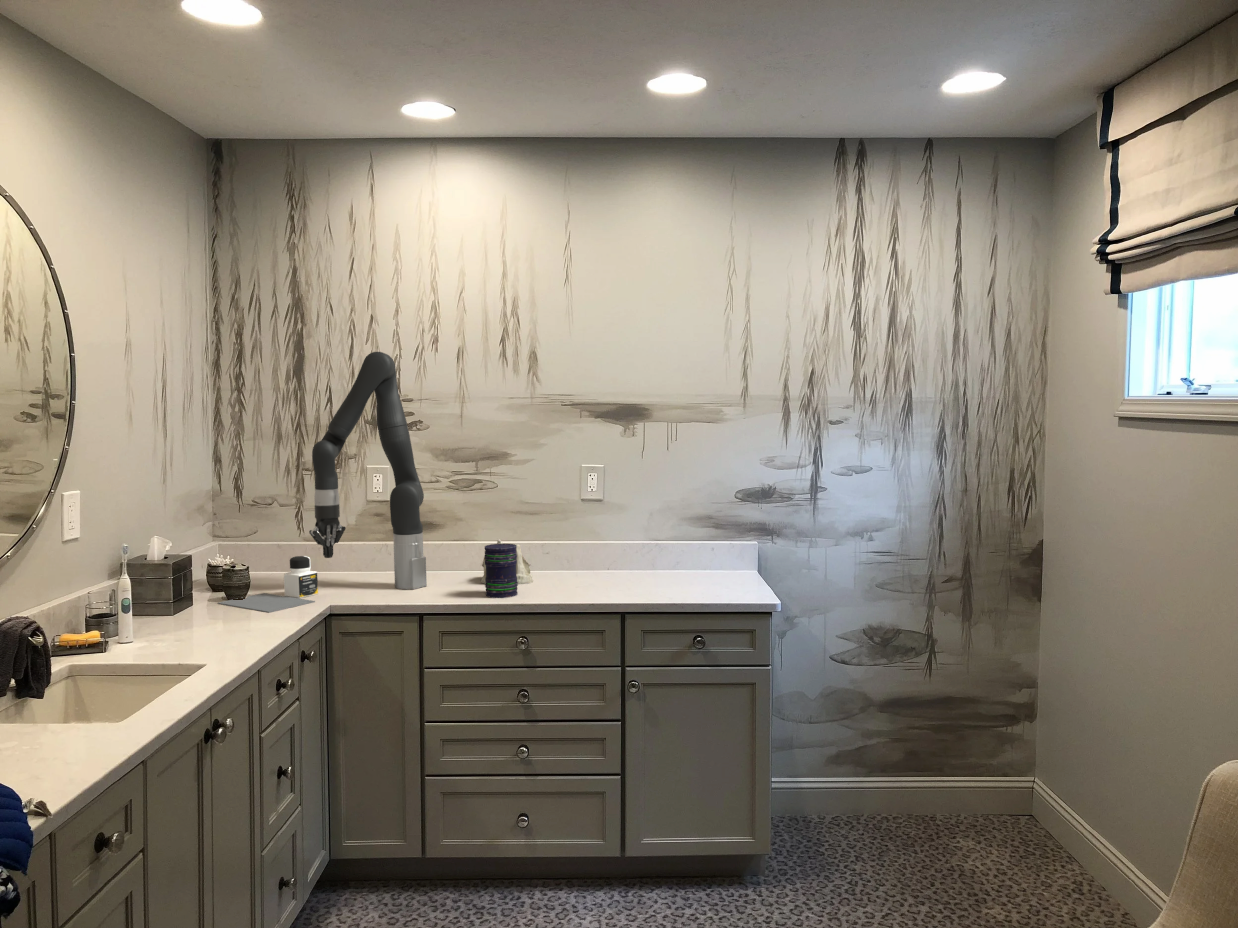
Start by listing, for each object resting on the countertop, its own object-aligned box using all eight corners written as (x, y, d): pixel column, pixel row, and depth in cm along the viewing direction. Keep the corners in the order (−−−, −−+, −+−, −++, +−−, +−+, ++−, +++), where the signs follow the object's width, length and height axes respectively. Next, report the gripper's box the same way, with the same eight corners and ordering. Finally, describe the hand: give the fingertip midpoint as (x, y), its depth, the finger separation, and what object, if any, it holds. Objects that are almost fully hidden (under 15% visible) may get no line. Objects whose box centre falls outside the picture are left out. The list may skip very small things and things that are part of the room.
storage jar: (517, 597, 283) (516, 548, 282) (484, 598, 282) (482, 548, 281) (518, 590, 293) (517, 543, 291) (486, 591, 292) (485, 543, 291)
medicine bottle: (299, 598, 286) (298, 559, 285) (284, 596, 290) (282, 557, 289) (318, 594, 292) (317, 555, 291) (303, 591, 296) (301, 554, 295)
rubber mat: (315, 601, 281) (315, 600, 281) (269, 612, 267) (268, 611, 267) (264, 593, 294) (264, 592, 294) (217, 603, 280) (217, 602, 280)
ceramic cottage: (535, 583, 304) (532, 536, 303) (484, 588, 300) (481, 541, 299) (528, 577, 319) (524, 533, 318) (479, 582, 315) (476, 537, 314)
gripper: (317, 506, 291) (319, 561, 292) (351, 501, 302) (352, 555, 303) (301, 504, 295) (303, 559, 296) (335, 500, 306) (337, 553, 307)
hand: (328, 557), depth 300 cm, fingers closed
